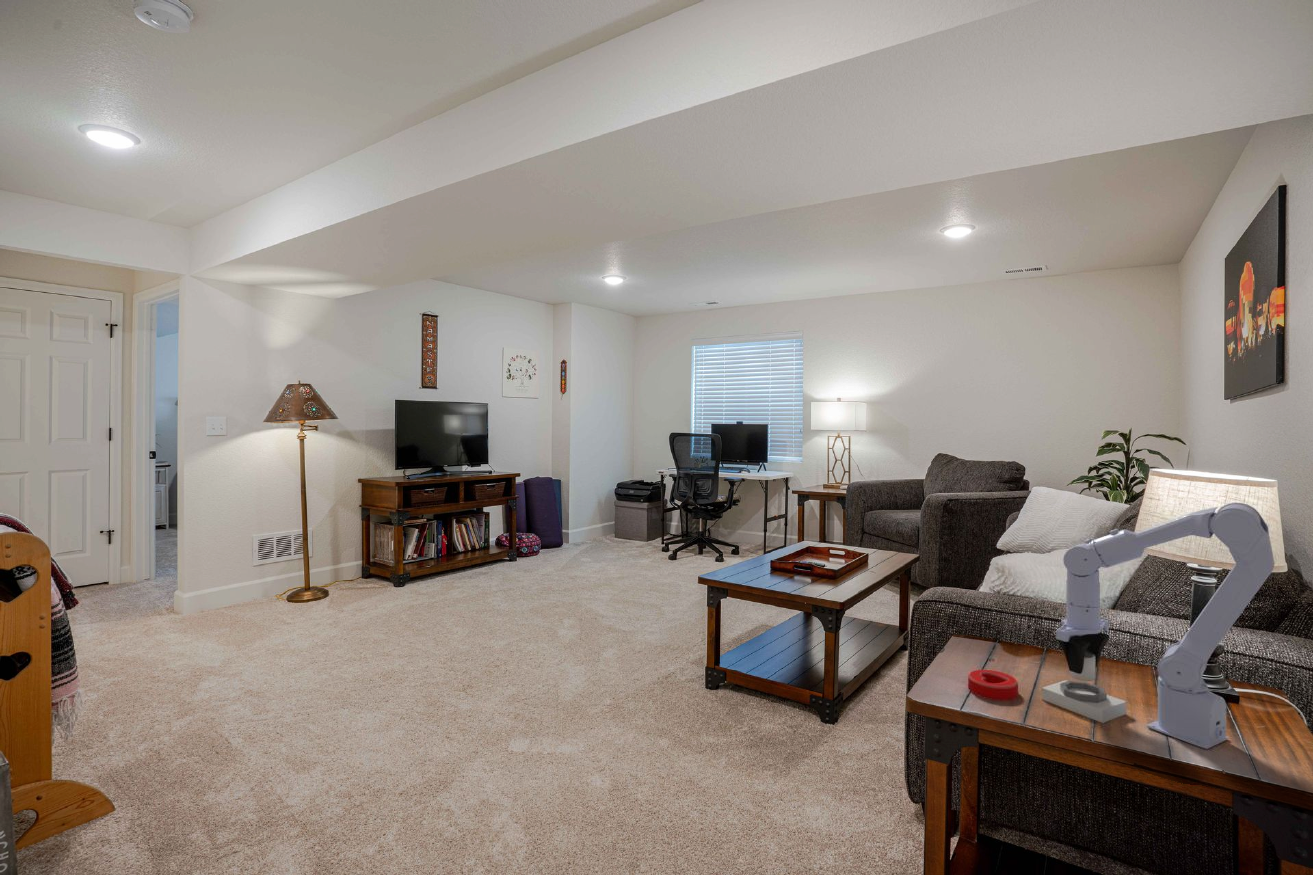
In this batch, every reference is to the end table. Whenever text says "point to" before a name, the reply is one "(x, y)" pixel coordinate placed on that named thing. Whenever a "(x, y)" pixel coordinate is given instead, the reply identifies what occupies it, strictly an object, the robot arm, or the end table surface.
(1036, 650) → the end table surface
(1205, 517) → the robot arm
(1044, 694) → the plate with octagonal ring
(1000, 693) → the decorative ornament
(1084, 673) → the lens
